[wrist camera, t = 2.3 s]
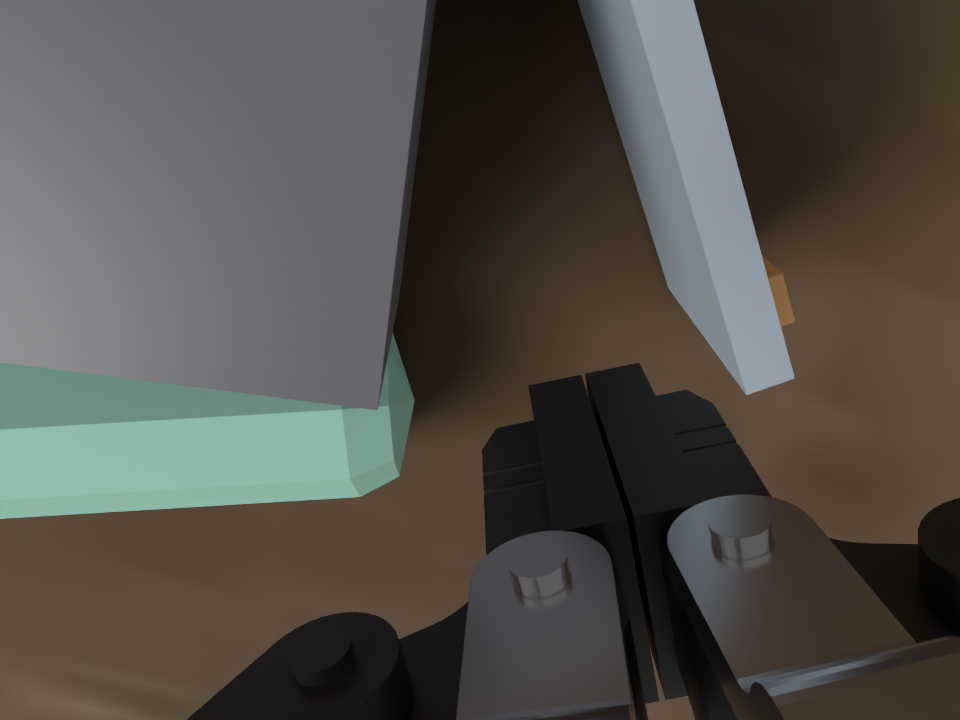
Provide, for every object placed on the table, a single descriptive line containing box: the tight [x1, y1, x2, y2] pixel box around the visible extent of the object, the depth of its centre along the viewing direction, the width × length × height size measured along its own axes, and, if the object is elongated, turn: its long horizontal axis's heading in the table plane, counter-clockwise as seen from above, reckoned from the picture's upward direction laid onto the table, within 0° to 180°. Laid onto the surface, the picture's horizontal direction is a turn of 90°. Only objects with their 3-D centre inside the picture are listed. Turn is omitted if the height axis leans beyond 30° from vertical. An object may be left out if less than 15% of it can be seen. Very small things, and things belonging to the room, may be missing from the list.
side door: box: [577, 0, 795, 395], centre depth 18 cm, size 14×2×7 cm, turn 21°
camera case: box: [0, 0, 436, 410], centre depth 17 cm, size 14×10×8 cm
